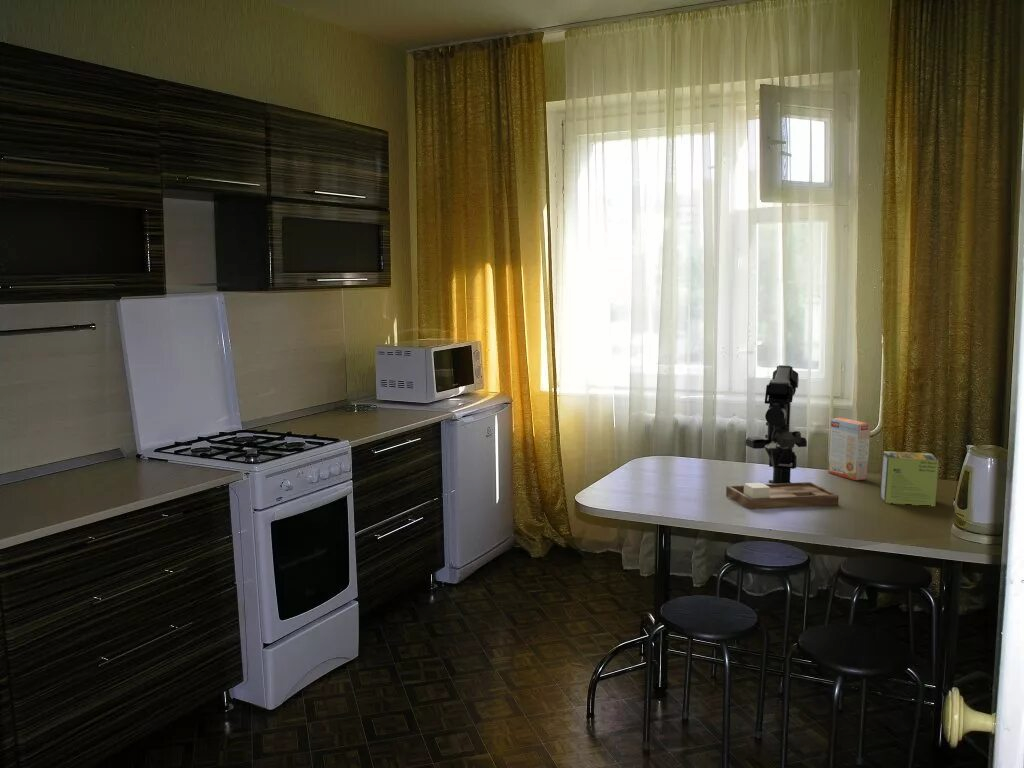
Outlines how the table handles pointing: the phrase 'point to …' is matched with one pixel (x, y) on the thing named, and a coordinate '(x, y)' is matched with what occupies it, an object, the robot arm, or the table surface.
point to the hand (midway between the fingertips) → (775, 468)
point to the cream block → (756, 490)
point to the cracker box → (849, 448)
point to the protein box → (909, 478)
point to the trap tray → (785, 496)
